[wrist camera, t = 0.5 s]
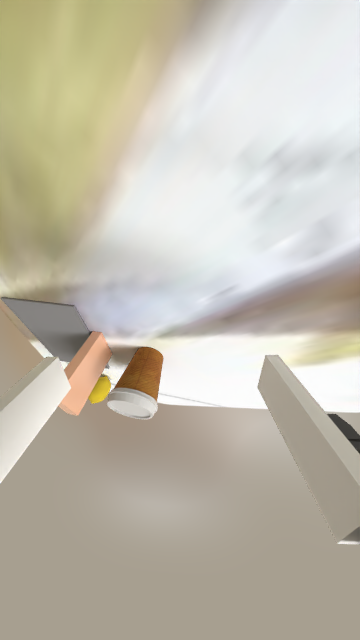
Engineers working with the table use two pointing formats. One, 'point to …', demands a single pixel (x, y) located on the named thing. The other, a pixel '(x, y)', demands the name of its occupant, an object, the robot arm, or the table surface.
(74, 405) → the tile
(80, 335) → the mat
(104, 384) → the lemon
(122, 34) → the table surface
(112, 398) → the disposable coffee cup
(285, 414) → the robot arm
